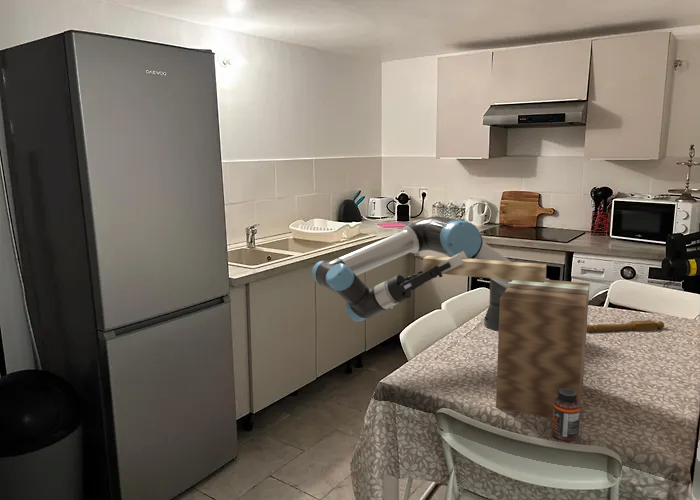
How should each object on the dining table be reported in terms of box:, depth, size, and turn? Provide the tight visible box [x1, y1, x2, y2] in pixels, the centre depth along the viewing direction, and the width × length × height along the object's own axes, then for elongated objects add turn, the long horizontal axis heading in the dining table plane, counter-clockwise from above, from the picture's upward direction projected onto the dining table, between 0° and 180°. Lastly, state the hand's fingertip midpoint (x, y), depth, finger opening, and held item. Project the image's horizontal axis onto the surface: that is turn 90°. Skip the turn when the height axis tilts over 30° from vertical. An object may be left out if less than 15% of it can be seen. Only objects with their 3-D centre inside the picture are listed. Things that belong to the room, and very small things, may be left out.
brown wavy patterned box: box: [495, 279, 591, 419], centre depth 150 cm, size 20×24×31 cm
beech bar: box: [422, 255, 548, 283], centre depth 148 cm, size 32×4×4 cm, turn 65°
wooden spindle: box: [586, 319, 665, 334], centre depth 203 cm, size 3×3×30 cm
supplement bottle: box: [551, 388, 581, 442], centre depth 131 cm, size 6×6×11 cm
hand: (463, 257), depth 150 cm, fingers closed on beech bar, 4 cm apart
